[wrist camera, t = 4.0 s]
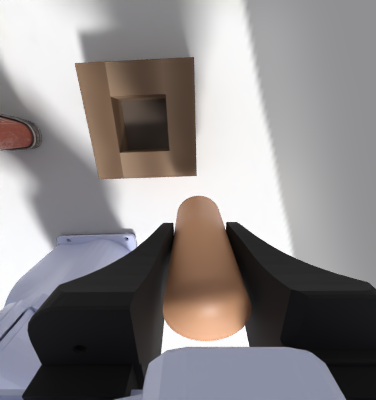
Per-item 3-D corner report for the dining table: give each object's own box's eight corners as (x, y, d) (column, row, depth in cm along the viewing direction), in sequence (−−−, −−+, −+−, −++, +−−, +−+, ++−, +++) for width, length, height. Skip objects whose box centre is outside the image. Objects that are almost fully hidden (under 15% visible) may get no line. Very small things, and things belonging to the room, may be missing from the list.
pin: (178, 234, 15) (165, 341, 7) (176, 196, 14) (158, 277, 6) (218, 233, 15) (247, 340, 7) (219, 195, 14) (255, 276, 6)
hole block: (112, 172, 20) (99, 179, 17) (93, 74, 17) (74, 63, 14) (195, 169, 20) (196, 175, 17) (193, 69, 17) (193, 57, 14)
